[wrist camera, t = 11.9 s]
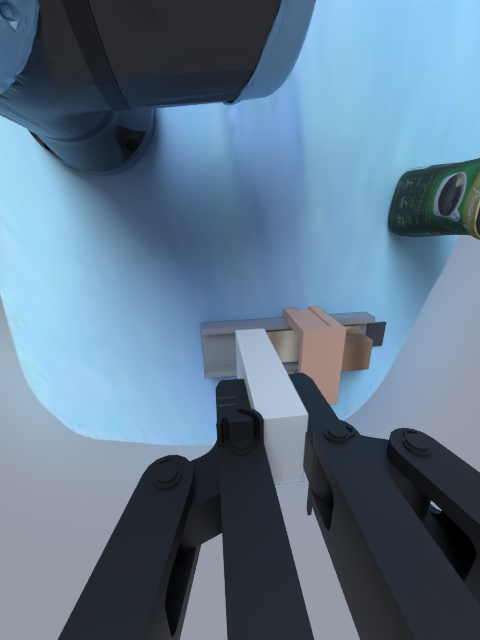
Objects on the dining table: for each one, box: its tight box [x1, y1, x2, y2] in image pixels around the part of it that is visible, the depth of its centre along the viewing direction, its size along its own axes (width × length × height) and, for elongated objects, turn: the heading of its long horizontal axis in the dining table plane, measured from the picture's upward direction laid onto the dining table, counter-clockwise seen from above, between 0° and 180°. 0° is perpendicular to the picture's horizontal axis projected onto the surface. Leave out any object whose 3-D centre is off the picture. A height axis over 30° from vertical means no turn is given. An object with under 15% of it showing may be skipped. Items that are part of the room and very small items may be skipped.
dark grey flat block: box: [365, 322, 386, 346], centre depth 49 cm, size 4×5×1 cm
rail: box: [201, 312, 375, 378], centre depth 46 cm, size 29×9×3 cm, turn 92°
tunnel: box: [283, 306, 346, 404], centre depth 43 cm, size 6×12×10 cm, turn 2°
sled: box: [266, 324, 373, 371], centre depth 44 cm, size 19×6×6 cm, turn 92°
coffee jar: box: [389, 158, 480, 240], centre depth 33 cm, size 10×8×19 cm
